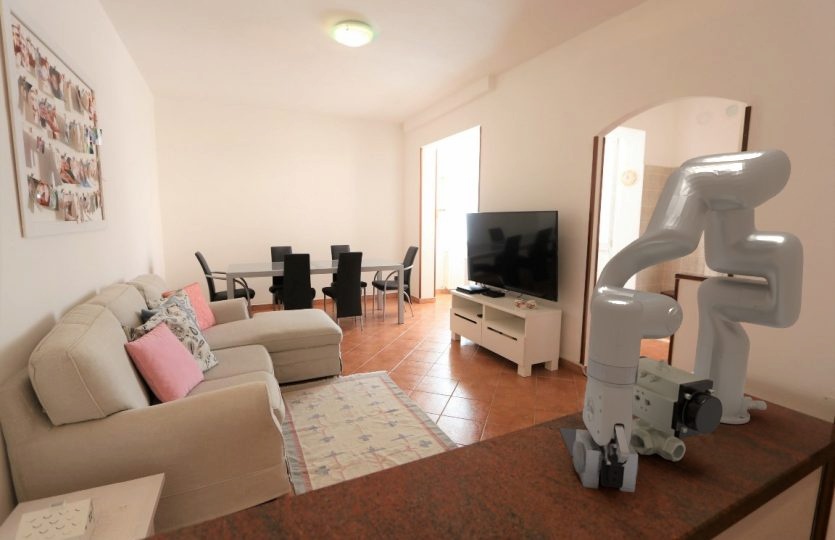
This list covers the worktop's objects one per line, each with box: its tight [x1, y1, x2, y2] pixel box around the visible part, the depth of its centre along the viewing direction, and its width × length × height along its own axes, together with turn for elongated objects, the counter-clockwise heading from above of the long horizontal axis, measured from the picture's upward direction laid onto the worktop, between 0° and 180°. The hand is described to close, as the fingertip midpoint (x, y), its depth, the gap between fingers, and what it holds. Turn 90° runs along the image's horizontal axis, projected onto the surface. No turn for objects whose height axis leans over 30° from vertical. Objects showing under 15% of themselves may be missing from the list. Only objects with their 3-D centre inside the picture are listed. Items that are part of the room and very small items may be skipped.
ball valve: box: [630, 355, 723, 462], centre depth 75 cm, size 18×8×18 cm, turn 21°
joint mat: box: [559, 427, 577, 458], centre depth 77 cm, size 10×10×1 cm
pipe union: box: [572, 428, 639, 493], centre depth 67 cm, size 9×6×6 cm
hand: (603, 469), depth 67 cm, fingers open, 7 cm apart
